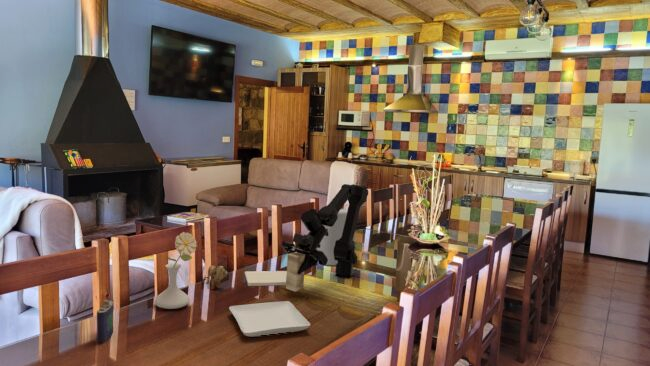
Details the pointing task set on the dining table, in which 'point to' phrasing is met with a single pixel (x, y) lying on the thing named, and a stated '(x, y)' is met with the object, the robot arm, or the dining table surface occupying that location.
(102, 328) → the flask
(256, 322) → the salad plate
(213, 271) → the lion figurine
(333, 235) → the plastic bottle
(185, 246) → the flower in vase
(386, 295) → the dining table surface
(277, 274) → the platter
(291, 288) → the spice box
